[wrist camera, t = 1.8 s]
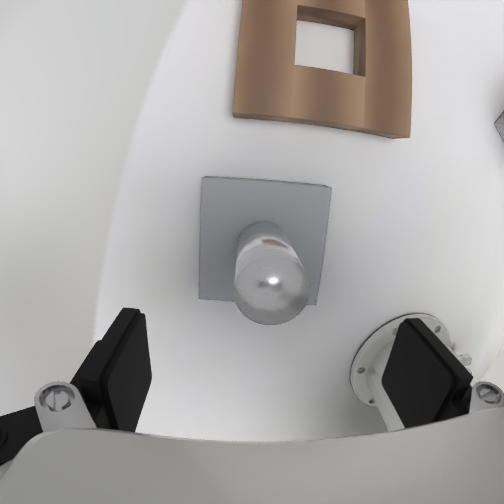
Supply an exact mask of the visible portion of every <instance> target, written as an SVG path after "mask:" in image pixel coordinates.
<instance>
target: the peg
mask: <svg viewBox="0 0 504 504" xmlns="http://www.w3.org/2000/svg"><path fill="white" fill-rule="evenodd" d="M309 294H310V284H309V279H308V277H307V274H306V272H305V271H304V269H303V267H302V265H301V263H300V261H299V259H298V257H297V255H296V253H295V251H294V249H293V247H292V245H291V243H290V241H289V239H288V237H287V235H286V233H285V232H284V230H283V229H282V228H281V227H280V226H279V225H277V224H276V223H274V222H271V221H266V220H261V221H256V222H253V223H251V224H249V225H248V226H246V227H245V228H244V229H243V231H242V232H241V234H240V236H239V239H238V246H237V258H236V271H235V283H234V297H235V301H236V304H237V306H238V308H239V309H240V311H241V312H242V313H243V314H244V315H245V316H246V317H247V318H249V319H250V320H252V321H254V322H257V323H260V324H264V325H276V324H281V323H284V322H287V321H289V320H291V319H293V318H294V317H296V316H297V315H298V314H299V313H300V312H301V311H302V310H303V308H304V307H305V305H306V303H307V301H308V298H309Z"/></svg>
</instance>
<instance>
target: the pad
mask: <svg viewBox="0 0 504 504" xmlns="http://www.w3.org/2000/svg"><path fill="white" fill-rule="evenodd" d="M331 191H332V188H331V187H328V186H326V185H316V184H306V183H296V182H284V181H272V180H259V179H245V178H228V177H208V176H205V177H203V178H202V196H201V220H200V254H199V299H208V300H223V301H235V297H234V283H235V271H236V258H237V246H238V239H239V236H240V234H241V232H242V231H243V229H244V228H245V227H246V226H248V225H249V224H251V223H253V222H256V221H261V220H266V221H271V222H274V223H276V224H277V225H279V226H280V227H281V228H282V229H283V230H284V232H285V233H286V235H287V237H288V239H289V241H290V243H291V245H292V247H293V249H294V251H295V253H296V255H297V257H298V259H299V261H300V263H301V265H302V267H303V269H304V271H305V272H306V274H307V277H308V279H309V284H310V294H309V298H308V301H307V303H306V305H316V302H317V296H318V290H319V283H320V277H321V270H322V263H323V256H324V249H325V241H326V234H327V226H328V218H329V209H330V200H331Z"/></svg>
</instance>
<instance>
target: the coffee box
mask: <svg viewBox="0 0 504 504" xmlns="http://www.w3.org/2000/svg"><path fill="white" fill-rule="evenodd" d="M495 126H496V128H497V129H498V131H499V133H500V135H501V137H502V139H503V141H504V112H503V113H502V115H501V116H500V117H499V118H498V120H497V121H496V122H495Z"/></svg>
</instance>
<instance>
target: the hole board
mask: <svg viewBox="0 0 504 504" xmlns="http://www.w3.org/2000/svg"><path fill="white" fill-rule="evenodd" d="M297 20H304V21H310V22H316V23H322V24H328V25H333V26H338V27H343V28H348V29H352V30H354V75H353V74H348V73H343V72H338V71H332V70H326V69H320V68H314V67H307V66H300V65H294V60H295V42H296V22H297ZM411 105H412V56H411V33H410V19H409V8H408V0H243V4H242V13H241V23H240V33H239V44H238V54H237V66H236V77H235V89H234V101H233V116H234V118H246V119H260V120H272V121H283V122H293V123H301V124H310V125H317V126H325V127H332V128H338V129H345V130H351V131H357V132H362V133H368V134H373V135H379V136H384V137H389V138H393V139H396V138H410V128H411Z"/></svg>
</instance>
